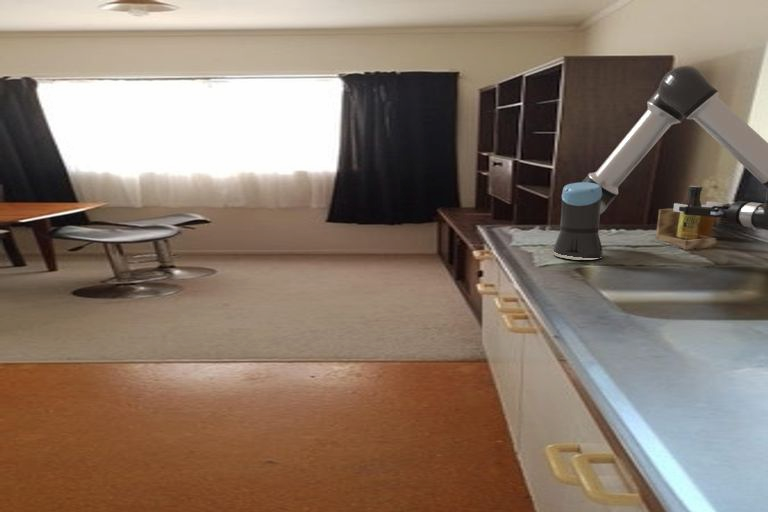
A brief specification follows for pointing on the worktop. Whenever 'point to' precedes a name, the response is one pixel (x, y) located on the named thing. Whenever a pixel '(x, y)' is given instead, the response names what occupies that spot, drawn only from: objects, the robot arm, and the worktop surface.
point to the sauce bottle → (690, 216)
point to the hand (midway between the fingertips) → (690, 206)
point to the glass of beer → (705, 224)
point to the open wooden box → (668, 232)
